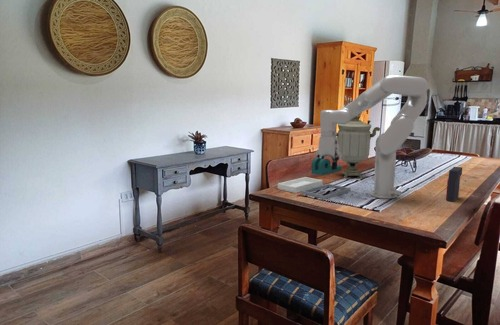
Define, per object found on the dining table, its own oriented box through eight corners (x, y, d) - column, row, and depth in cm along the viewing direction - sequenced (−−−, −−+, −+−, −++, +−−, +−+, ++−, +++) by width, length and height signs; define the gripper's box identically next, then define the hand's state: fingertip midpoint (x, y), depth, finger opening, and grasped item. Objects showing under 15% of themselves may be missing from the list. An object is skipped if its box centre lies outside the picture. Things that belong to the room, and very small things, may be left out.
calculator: (450, 195, 181) (452, 166, 178) (459, 197, 178) (462, 167, 175) (445, 200, 172) (447, 169, 170) (455, 202, 170) (458, 170, 167)
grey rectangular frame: (350, 191, 192) (350, 188, 192) (324, 199, 178) (324, 196, 177) (328, 186, 203) (328, 183, 203) (301, 193, 188) (301, 190, 188)
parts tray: (322, 185, 205) (322, 180, 205) (294, 193, 190) (294, 187, 190) (305, 181, 215) (305, 176, 214) (277, 188, 199) (277, 183, 199)
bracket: (322, 175, 180) (321, 159, 179) (311, 173, 185) (311, 158, 184) (344, 169, 191) (344, 155, 190) (334, 168, 196) (333, 154, 195)
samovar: (381, 173, 235) (384, 111, 228) (374, 182, 212) (377, 113, 205) (335, 169, 248) (337, 111, 241) (324, 177, 226) (326, 112, 218)
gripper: (346, 134, 181) (346, 169, 184) (319, 132, 194) (319, 165, 197) (338, 135, 176) (338, 171, 179) (310, 134, 189) (310, 167, 192)
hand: (328, 168), depth 188 cm, fingers closed on bracket, 7 cm apart
